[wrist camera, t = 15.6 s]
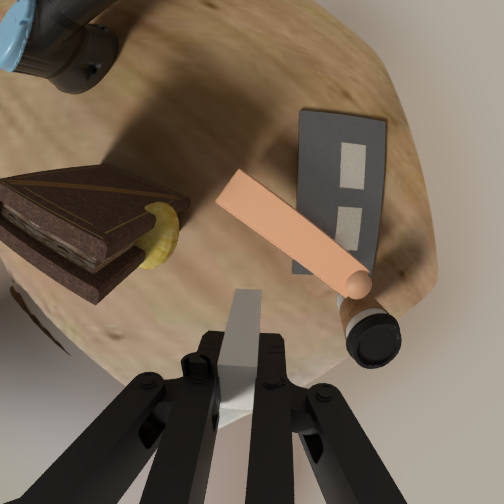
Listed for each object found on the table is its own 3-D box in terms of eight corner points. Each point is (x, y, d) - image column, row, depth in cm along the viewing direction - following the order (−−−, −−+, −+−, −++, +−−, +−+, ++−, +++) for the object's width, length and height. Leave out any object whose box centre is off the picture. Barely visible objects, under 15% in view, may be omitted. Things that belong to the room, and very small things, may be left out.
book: (88, 199, 43) (-16, 235, 20) (100, 155, 41) (-11, 166, 17) (190, 245, 45) (120, 329, 21) (209, 199, 42) (140, 245, 19)
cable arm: (218, 199, 35) (214, 202, 33) (240, 168, 34) (238, 168, 31) (351, 297, 39) (356, 306, 36) (373, 272, 37) (379, 280, 35)
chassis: (298, 111, 37) (304, 102, 31) (382, 122, 37) (400, 117, 30) (291, 271, 46) (295, 288, 39) (369, 273, 45) (382, 289, 39)
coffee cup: (337, 324, 48) (357, 379, 34) (323, 289, 46) (343, 340, 32) (377, 306, 47) (408, 355, 33) (366, 269, 45) (401, 312, 31)
